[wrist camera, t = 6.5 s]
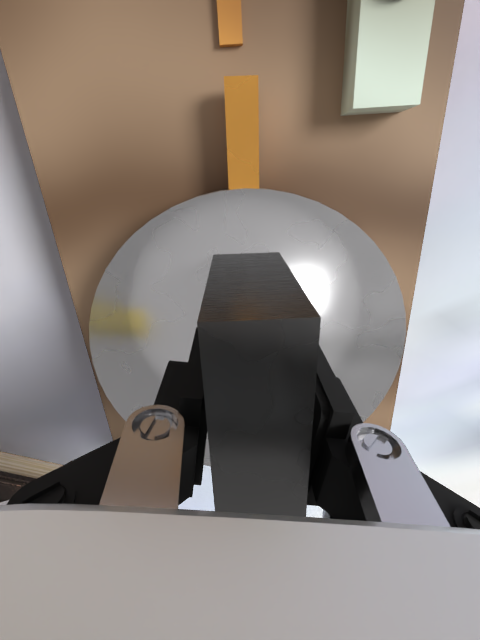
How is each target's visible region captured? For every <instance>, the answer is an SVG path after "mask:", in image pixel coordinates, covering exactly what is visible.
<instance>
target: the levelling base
mask: <svg viewBox="0 0 480 640" xmlns="http://www.w3.org/2000/svg"><path fill="white" fill-rule="evenodd" d="M464 1H465V0H0V49H1V53H2V56H3V60H4V63H5V67H6V70H7V74H8V77H9V81H10V84H11V88H12V91H13V95H14V98H15V102H16V105H17V108H18V112H19V115H20V119H21V122H22V126H23V129H24V133H25V136H26V140H27V143H28V147H29V150H30V154H31V157H32V161H33V164H34V167H35V171H36V174H37V178H38V181H39V185H40V188H41V192H42V195H43V199H44V202H45V206H46V209H47V213H48V216H49V219H50V223H51V226H52V230H53V233H54V237H55V240H56V244H57V247H58V251H59V254H60V258H61V261H62V265H63V268H64V272H65V275H66V278H67V282H68V285H69V289H70V292H71V296H72V299H73V303H74V306H75V310H76V313H77V317H78V320H79V324H80V327H81V331H82V334H83V337H84V341H85V344H86V348H87V351H88V355H89V358H90V362H91V365H92V369H93V372H94V376H95V379H96V383H97V386H98V390H99V393H100V396H101V400H102V403H103V407H104V410H105V414H106V417H107V421H108V424H109V428H110V431H111V435H112V438H113V441H114V440H116V439H118V438H120V437H121V435H122V432H123V429H124V426H125V422H126V421H125V420H124V419H123V418H122V417H121V415H120V414H119V413H118V412H117V411H116V410H115V408H114V407H113V405H112V404H111V402H110V401H109V399H108V398H107V396H106V394H105V392H104V390H103V388H102V386H101V384H100V382H99V380H98V377H97V374H96V371H95V368H94V365H93V362H92V356H91V350H90V343H89V323H90V315H91V307H92V303H93V300H94V297H95V293H96V290H97V287H98V285H99V282H100V280H101V278H102V276H103V274H104V272H105V270H106V268H107V266H108V265H109V263H110V262H111V260H112V259H113V257H114V256H115V254H116V253H117V251H118V250H119V249H120V248H121V247H122V246H123V245H124V244H125V242H126V241H127V240H128V239H129V238H130V237H131V236H132V235H133V234H134V233H135V232H136V231H138V230H139V229H140V228H141V227H143V226H144V225H145V224H146V223H147V222H149V221H150V220H151V219H153V218H155V217H156V216H158V215H160V214H161V213H163V212H165V211H166V210H168V209H170V208H171V207H173V206H175V205H177V204H180V203H182V202H184V201H187V200H189V199H192V198H194V197H197V196H199V195H203V194H207V193H211V192H214V191H218V190H224V189H229V185H228V162H227V139H226V117H225V94H224V76H246V75H258V87H259V188H267V189H272V190H278V191H284V192H289V193H293V194H296V195H299V196H302V197H305V198H308V199H311V200H314V201H317V202H319V203H321V204H323V205H325V206H327V207H329V208H331V209H333V210H335V211H337V212H339V213H340V214H342V215H343V216H345V217H346V218H347V219H349V220H350V221H352V222H353V223H354V224H356V225H357V226H358V227H359V228H360V229H362V230H363V231H364V232H365V233H366V234H367V235H368V236H369V237H370V238H371V239H372V240H373V241H374V242H375V244H376V245H377V246H378V248H379V249H380V250H381V252H382V253H383V254H384V256H385V257H386V259H387V260H388V262H389V264H390V266H391V268H392V270H393V272H394V274H395V276H396V278H397V281H398V284H399V287H400V290H401V293H402V296H403V302H404V307H405V313H406V336H407V330H408V324H409V319H410V313H411V307H412V301H413V296H414V290H415V284H416V278H417V272H418V267H419V261H420V255H421V249H422V244H423V238H424V232H425V226H426V221H427V215H428V209H429V203H430V197H431V192H432V186H433V180H434V174H435V169H436V163H437V157H438V151H439V146H440V140H441V134H442V128H443V122H444V117H445V111H446V105H447V99H448V94H449V88H450V82H451V76H452V71H453V65H454V59H455V53H456V48H457V42H458V36H459V30H460V24H461V19H462V13H463V7H464ZM405 342H406V337H405ZM404 347H405V345H404ZM403 353H404V352H403ZM402 359H403V355H402ZM402 359H401V363H400V366H399V369H398V371H397V374H396V376H395V378H394V381H393V383H392V385H391V387H390V389H389V390H388V392H387V394H386V395H385V397H384V399H383V400H382V401H381V403H380V404H379V405H378V407H377V408H376V409H375V411H374V412H373V413H372V414H371V415H370V416H369V417H368V418H367V419H366V420H365V421H364V422H363V423H371V424H375V425H379V426H381V427H383V428H386V429H387V430H389V431H390V428H391V422H392V417H393V411H394V405H395V399H396V394H397V388H398V382H399V376H400V371H401V365H402Z"/></svg>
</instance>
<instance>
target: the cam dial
mask: <svg viewBox="0 0 480 640" xmlns="http://www.w3.org/2000/svg"><path fill="white" fill-rule="evenodd" d="M224 94H225V117H226V139H227V162H228V185H229V189H224V190H218V191H214V192H211V193H207V194H203V195H199V196H197V197H194V198H192V199H189V200H187V201H184V202H182V203H180V204H177V205H175V206H173V207H171V208H170V209H168V210H166V211H165V212H163V213H161V214H160V215H158V216H156V217H155V218H153V219H151V220H150V221H149V222H147V223H146V224H145V225H144V226H143V227H141V228H140V229H139V230H138V231H136V232H135V233H134V234H133V235H132V236H131V237H130V238H129V239H128V240H127V241H126V242H125V244H124V245H123V246H122V247H121V248H120V249H119V250H118V251H117V253H116V254H115V256H114V257H113V259H112V260H111V262H110V263H109V265H108V266H107V268H106V270H105V272H104V274H103V276H102V278H101V280H100V282H99V285H98V287H97V290H96V293H95V297H94V300H93V303H92V307H91V315H90V323H89V343H90V350H91V356H92V362H93V365H94V368H95V371H96V374H97V377H98V380H99V382H100V384H101V386H102V388H103V390H104V392H105V394H106V396H107V398H108V399H109V401H110V402H111V404H112V405H113V407H114V408H115V410H116V411H117V412H118V413H119V414H120V415H121V417H122V418H123V419H124V420H125V421H127V419H128V417H129V416H130V415H131V414H132V413H133V412H134V411H136V410H138V409H140V408H142V407H145V406H149V405H154V402H155V399H156V396H157V393H158V390H159V388H160V385H161V382H162V379H163V376H164V373H165V370H166V367H167V364H168V362H169V361H170V360H171V361H181V362H188V360H189V356H190V352H191V347H192V343H193V339H194V335H195V331H196V327H197V328H198V338H199V348H200V359H201V369H202V380H203V390H204V400H205V411H206V421H207V438H206V446H205V455H204V464H203V465H207V466H211V473H212V483H213V494H214V504H215V511H218V512H234V513H251V514H266V515H282V516H297V517H306V507H307V494H308V481H309V468H310V455H311V442H312V429H313V416H314V403H315V390H316V376H317V363H318V350H319V346H320V347H321V349H322V351H323V353H324V355H325V357H326V359H327V361H328V363H329V365H330V367H331V369H332V371H333V372H334V374H335V376H336V377H338V378H339V379H340V380H341V382H342V384H343V386H344V388H345V389H346V391H347V393H348V395H349V397H350V399H351V401H352V403H353V404H354V406H355V408H356V410H357V412H358V414H359V416H360V417H361V419H362V421H363V422H364V421H365V420H366V419H367V418H368V417H369V416H370V415H371V414H372V413H373V412H374V411H375V409H376V408H377V407H378V405H379V404H380V403H381V401H382V400H383V399H384V397H385V395H386V394H387V392H388V390H389V389H390V387H391V385H392V383H393V381H394V378H395V376H396V374H397V371H398V369H399V366H400V363H401V359H402V355H403V352H404V345H405V337H406V313H405V307H404V302H403V296H402V293H401V290H400V287H399V284H398V281H397V278H396V276H395V274H394V272H393V270H392V268H391V266H390V264H389V262H388V260H387V259H386V257H385V256H384V254H383V253H382V252H381V250H380V249H379V248H378V246H377V245H376V244H375V242H374V241H373V240H372V239H371V238H370V237H369V236H368V235H367V234H366V233H365V232H364V231H363V230H362V229H360V228H359V227H358V226H357V225H356V224H354V223H353V222H352V221H350V220H349V219H347V218H346V217H345V216H343V215H342V214H340V213H339V212H337V211H335V210H333V209H331V208H329V207H327V206H325V205H323V204H321V203H319V202H317V201H314V200H311V199H308V198H305V197H302V196H299V195H296V194H293V193H289V192H284V191H278V190H272V189H267V188H259V87H258V75H246V76H224Z"/></svg>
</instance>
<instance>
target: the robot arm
mask: <svg viewBox="0 0 480 640" xmlns="http://www.w3.org/2000/svg"><path fill="white" fill-rule="evenodd" d="M206 438H207V421H206V411H205V400H204V390H203V380H202V369H201V359H200V348H199V338H198V328H197V327H196V331H195V335H194V339H193V343H192V347H191V352H190V356H189V360H188V362H181V361H171V360H170V361H169V362H168V364H167V367H166V370H165V373H164V376H163V379H162V382H161V385H160V388H159V390H158V393H157V396H156V399H155V402H154V405H149V406H145V407H142V408H140V409H138V410H136V411H134V412H133V413H132V414H131V415H130V416H129V417H128V419H127V421H126V422H125V426H124V429H123V432H122V435H121V437H120V438H118V439H116V440H114V441H112V442H110V443H108V444H106V445H104V446H102V447H100V448H97V449H95V450H93V451H91V452H89V453H87V454H85V455H83V456H81V457H79V458H77V459H75V460H73V461H71V462H69V463H67V464H65V465H63V466H61V467H59V468H57V469H55V470H53V471H51V472H49V473H47V474H45V475H43V476H41V477H39V478H37V479H35V480H33V481H31V482H29V483H28V484H26V485H25V486H23V487H22V488H20V489H19V490H18V491H17V492H16V493H15V494H14V495H13V496H12V497H11V499H10V500H7V501H4V502H1V503H0V640H480V508H479V507H477V506H476V505H474V504H472V503H471V502H469V501H468V500H466V499H464V498H463V497H461V496H459V495H458V494H456V493H455V492H453V491H451V490H450V489H448V488H446V487H445V486H443V485H441V484H440V483H438V482H437V481H435V480H433V479H432V478H430V477H428V476H427V475H425V474H424V473H422V472H420V471H419V469H418V467H417V466H416V464H415V462H414V460H413V458H412V457H411V455H410V453H409V451H408V449H407V448H406V446H405V445H404V443H403V442H402V441H401V439H400V438H398V437H397V436H396V435H395V434H394V433H392V432H391V431H389V430H387V429H386V428H383V427H381V426H379V425H375V424H371V423H363V421H362V419H361V417H360V416H359V414H358V412H357V410H356V408H355V406H354V404H353V403H352V401H351V399H350V397H349V395H348V393H347V391H346V389H345V388H344V386H343V384H342V382H341V380H340V379H339V378H338V377H336V376H335V374H334V372H333V371H332V369H331V367H330V365H329V363H328V361H327V359H326V357H325V355H324V353H323V351H322V349H321V347H320V346H319V350H318V363H317V376H316V390H315V403H314V416H313V429H312V442H311V455H310V468H309V481H308V494H307V505H315V506H320V507H321V508H322V509H323V518H313V517H297V516H282V515H266V514H251V513H234V512H218V511H201V510H184V509H178V505H179V504H181V503H182V502H183V501H185V500H186V499H187V498H189V497H192V494H193V486H194V485H201V481H202V473H203V464H204V455H205V446H206Z"/></svg>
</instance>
